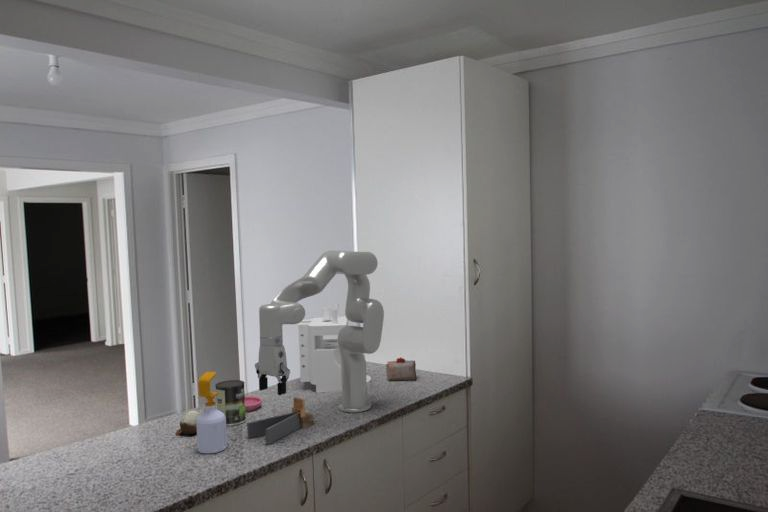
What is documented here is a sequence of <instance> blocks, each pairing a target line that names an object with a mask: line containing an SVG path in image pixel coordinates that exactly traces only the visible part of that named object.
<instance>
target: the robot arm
mask: <svg viewBox="0 0 768 512" xmlns="http://www.w3.org/2000/svg"><path fill="white" fill-rule="evenodd" d="M376 256H377V255H375V254H374V253H373V252H370V251H354V250H353V251H351V250H328V251H324V253H322V254H321V255H320V256H319V257H318V259H316V261H315V262H314V264H313V265H311V266H310V268H309V269H308V271H307V272H306V273H305V274H304V275H303V276H302V277H300V278H298V279H297V280H295V281H293V282H292V283H290V284H288V285H287V286H285V287H284V288H283V289H282V290H280V291H279V292H278V294H277V295H276V296H275V297H274V298H273V300H272V301H271V302H270V303H268V304H267V303H266V304H263V305H261V306H260V307H259V309H258V316H259V319H258V320H259V321H258V323H259V351H258V362H255V363H254V368H255V373H256V374H257V379H258V390H259V391H265V390H268V389H269V387H268V386H269V385H268V377H267V376H270V377H275V378H276V379H277V384H276V385H277V386H276V387H277V395H278V396H282V395H285V394H287V382H288V380H289V378H290V374H291V370H290V369H289V368H288V364H287V363H288V361H287V353H286V348H285V345H283V344H284V343H283V342H284V341H283V339H284V336H283V325H298V324H299V323H301V321H302V320H305V318H306V317H305V316H306V310H305V307H304V306H303V305H302V304H300V303H299V301H301V300H303V299H306V298H310V297H314V296H315V295H318V294H321V293H322V291H324V289H325V288H326V287H327V285H328V284H329V283H330V282H331V281H332V279H333V278H335V276H336V275H344V276H345V278H346V281H347V295H346V301H345V309H344V314H345V315H344V316H346V318H347V319H348V322H351V323H356V324H357V323H358V324H362V326H360V325H359V326H357V325H348V326H346V327H343V328H342V329H341V330H340V331H339V333H338V335H337V339H338V346H339V350H340V355H341V373H342V392H341V393H342V397H341V399H342V401H341V403H339V404H338V410H340V411H341V412H344V413H361V412H362V413H363V412H366V411H369V410H370V409H371V408H372V402H370V400H372V399H374V398H375V397H376V394H375V393H374V392H372V393H368V387H367V381H366V375H367V361H366V357H365V354H368V355H370V354H372V355H373V354H375V353H376V352H377V351H378V349H379V348H380V345H381V341H382V333H383V326H384V318H385V310H384V306H383V305H382V303H381V301H379V300H377V299H374V298H370V291H371V283H370V280H369V277H368V276H367V275H371V274H374V272H375V271H376V270H377V268H378V259H377V257H376Z"/></svg>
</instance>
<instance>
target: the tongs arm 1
mask: <svg viewBox="0 0 768 512" xmlns="http://www.w3.org/2000/svg"><path fill="white" fill-rule="evenodd" d="M296 413H297V412H292V411H291V412H289V413H283V414H280V415H274V416H271V417H267V418H262V419H258V420H253V421H249V422H246V426H247V427H246V428H247V429H246V430H247V431H246V432H247V439H252V438H256V437H259V436H260V437H261V436H265V435H266V428H268V427H270V426H272V425H274V424H276V423H278V422H280V421H282V420H284V419H286V418H288V417H290V416H292V415H294V414H296Z"/></svg>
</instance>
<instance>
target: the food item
mask: <svg viewBox="0 0 768 512" xmlns="http://www.w3.org/2000/svg"><path fill="white" fill-rule="evenodd" d="M416 365H417V364H416V360H406V359H405V358H403V357H398V358H396V359H395V360H391V361H387V363H385V366H386V368H385V374H386V379H387V381H388V380H414V381H417V372H416Z"/></svg>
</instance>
